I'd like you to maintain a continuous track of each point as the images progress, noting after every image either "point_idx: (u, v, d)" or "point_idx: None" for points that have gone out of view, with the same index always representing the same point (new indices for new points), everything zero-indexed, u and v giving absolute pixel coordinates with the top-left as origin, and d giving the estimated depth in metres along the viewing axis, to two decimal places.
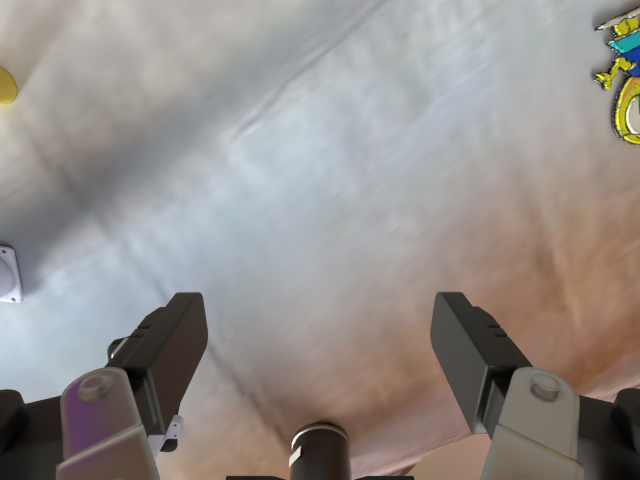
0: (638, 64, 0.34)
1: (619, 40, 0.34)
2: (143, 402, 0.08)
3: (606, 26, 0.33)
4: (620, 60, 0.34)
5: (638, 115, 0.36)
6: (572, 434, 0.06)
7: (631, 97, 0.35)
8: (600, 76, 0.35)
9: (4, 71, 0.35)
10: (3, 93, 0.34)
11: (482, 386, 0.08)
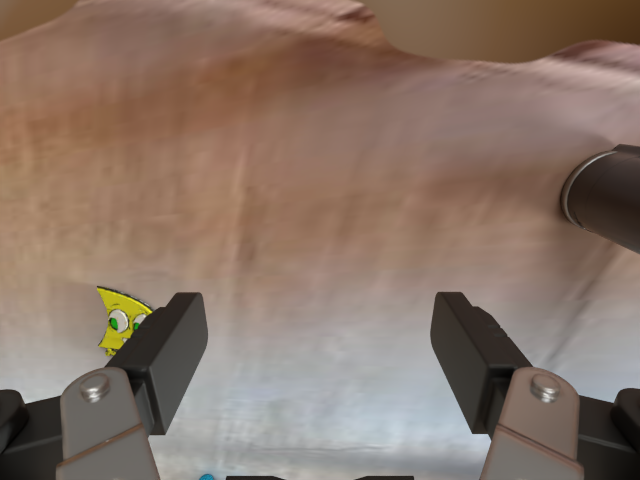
0: None
1: None
2: (143, 402, 0.08)
3: None
4: None
5: None
6: (572, 434, 0.06)
7: None
8: None
9: None
10: None
11: (482, 385, 0.08)
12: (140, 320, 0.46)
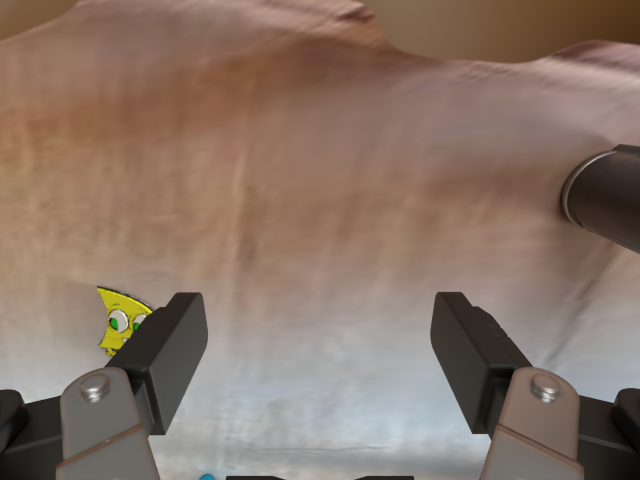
0: None
1: None
2: (143, 402, 0.08)
3: None
4: None
5: None
6: (572, 434, 0.06)
7: None
8: None
9: None
10: None
11: (482, 385, 0.08)
12: (140, 320, 0.46)
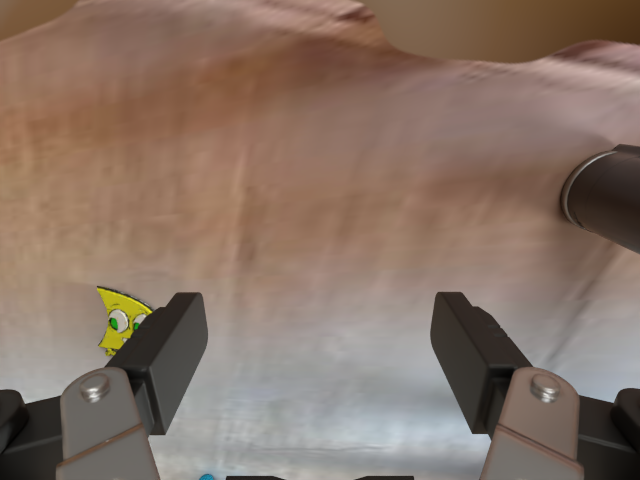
0: None
1: None
2: (143, 402, 0.08)
3: None
4: None
5: None
6: (572, 434, 0.06)
7: None
8: None
9: None
10: None
11: (482, 385, 0.08)
12: (140, 320, 0.46)
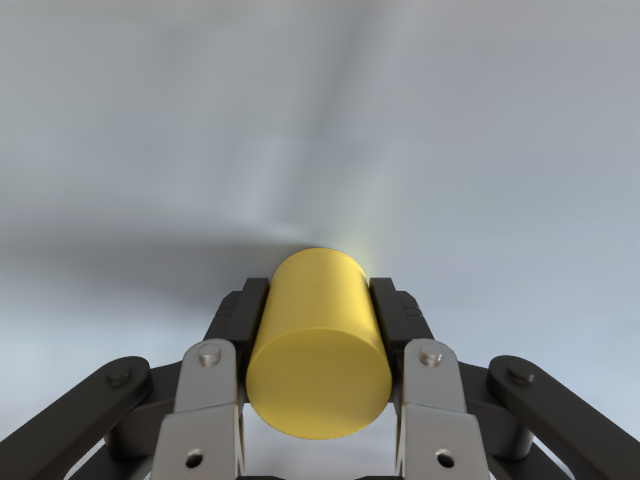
0: None
1: None
2: (242, 371, 0.09)
3: None
4: None
5: None
6: (459, 390, 0.07)
7: None
8: None
9: (302, 253, 0.12)
10: (364, 288, 0.11)
11: (387, 357, 0.09)
12: None
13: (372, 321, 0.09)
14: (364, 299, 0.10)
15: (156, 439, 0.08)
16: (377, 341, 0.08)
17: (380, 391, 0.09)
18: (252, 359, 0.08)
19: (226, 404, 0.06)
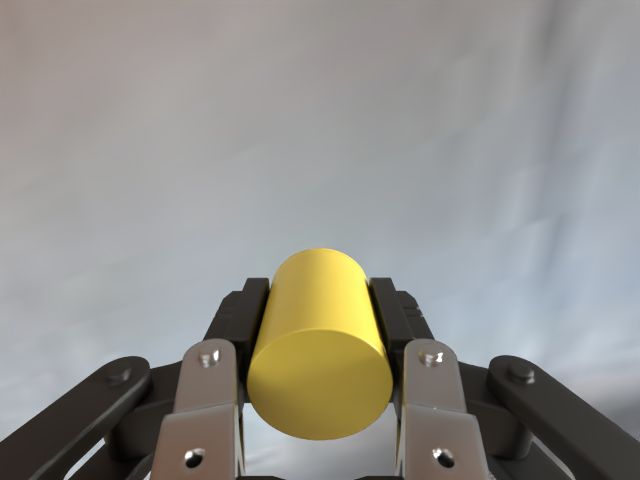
0: None
1: None
2: (242, 371, 0.09)
3: None
4: None
5: None
6: (459, 389, 0.07)
7: None
8: None
9: (303, 254, 0.12)
10: (365, 289, 0.11)
11: None
12: None
13: (373, 322, 0.09)
14: (365, 299, 0.10)
15: (156, 439, 0.08)
16: (378, 342, 0.09)
17: (381, 391, 0.09)
18: (253, 360, 0.08)
19: (226, 404, 0.06)
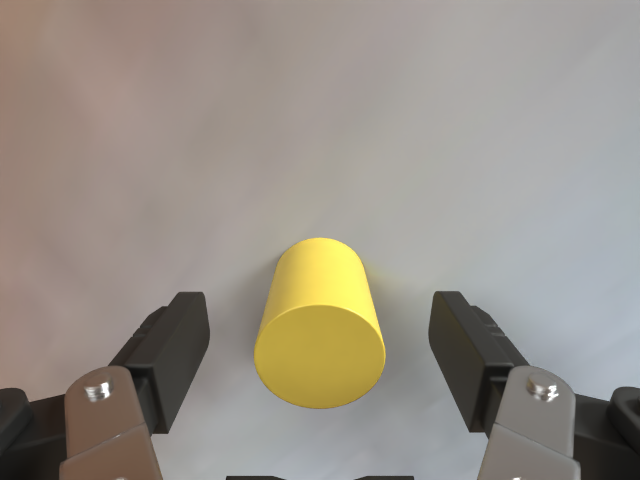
0: None
1: None
2: (146, 401, 0.08)
3: None
4: None
5: None
6: (568, 432, 0.06)
7: None
8: None
9: (304, 243, 0.13)
10: (361, 274, 0.12)
11: (478, 384, 0.08)
12: None
13: (368, 301, 0.10)
14: (361, 283, 0.11)
15: None
16: (372, 318, 0.09)
17: (375, 363, 0.10)
18: (260, 333, 0.09)
19: (136, 426, 0.06)
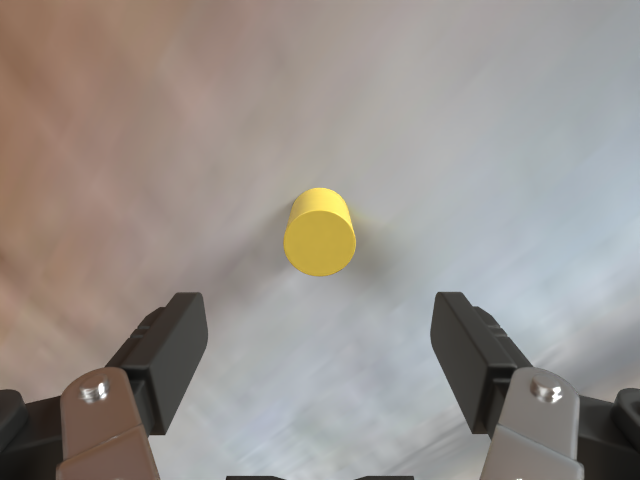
0: None
1: None
2: (143, 402, 0.08)
3: None
4: None
5: None
6: (572, 434, 0.06)
7: None
8: None
9: (310, 190, 0.21)
10: (345, 206, 0.20)
11: (482, 386, 0.08)
12: None
13: (347, 216, 0.18)
14: (344, 208, 0.19)
15: None
16: (348, 221, 0.17)
17: (349, 246, 0.17)
18: (287, 228, 0.17)
19: (133, 428, 0.06)
